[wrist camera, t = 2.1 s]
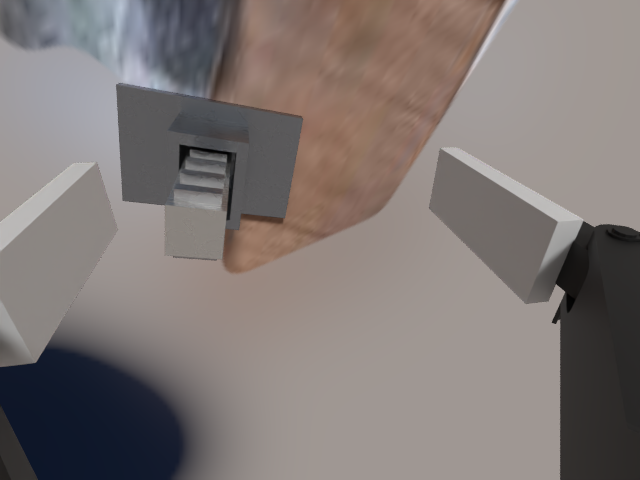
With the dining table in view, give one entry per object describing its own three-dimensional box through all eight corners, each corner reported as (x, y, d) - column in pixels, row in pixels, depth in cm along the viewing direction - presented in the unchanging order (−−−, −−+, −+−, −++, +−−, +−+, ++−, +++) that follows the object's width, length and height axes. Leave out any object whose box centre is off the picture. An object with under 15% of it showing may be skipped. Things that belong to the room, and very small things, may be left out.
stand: (125, 196, 41) (95, 240, 32) (119, 82, 35) (81, 101, 27) (283, 213, 45) (293, 256, 37) (301, 116, 40) (317, 140, 31)
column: (191, 182, 40) (164, 264, 26) (193, 131, 37) (165, 193, 24) (228, 186, 41) (221, 268, 27) (233, 137, 38) (227, 201, 25)
